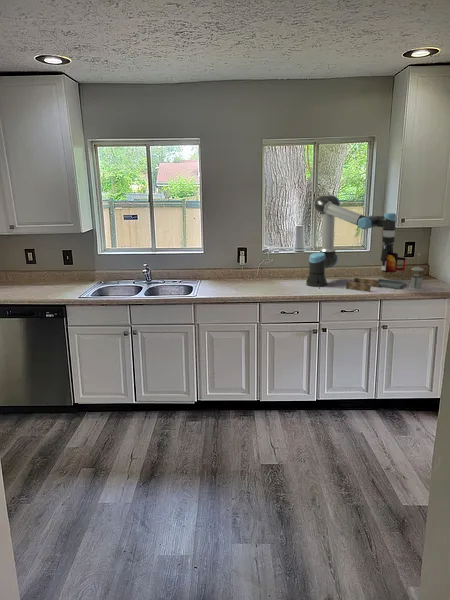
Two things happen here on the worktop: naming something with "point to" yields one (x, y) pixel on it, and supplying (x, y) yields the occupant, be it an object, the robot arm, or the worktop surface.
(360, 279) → the wooden frame
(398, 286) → the tray
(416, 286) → the french press
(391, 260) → the mug
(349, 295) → the worktop surface
